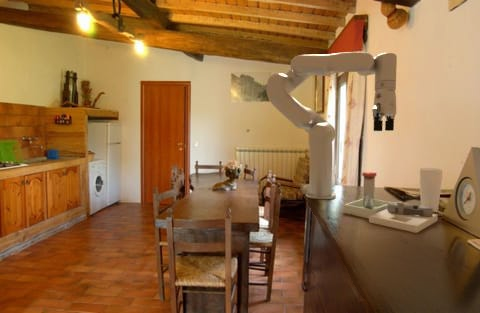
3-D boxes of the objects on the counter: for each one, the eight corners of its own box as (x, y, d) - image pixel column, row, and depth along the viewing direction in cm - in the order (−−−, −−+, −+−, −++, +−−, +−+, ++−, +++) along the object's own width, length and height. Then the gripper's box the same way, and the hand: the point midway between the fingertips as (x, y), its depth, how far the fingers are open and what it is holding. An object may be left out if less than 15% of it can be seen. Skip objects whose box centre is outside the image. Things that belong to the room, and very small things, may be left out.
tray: (343, 212, 111) (343, 204, 111) (365, 205, 122) (365, 197, 121) (372, 219, 104) (372, 210, 103) (393, 210, 114) (393, 202, 113)
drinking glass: (443, 213, 109) (445, 170, 108) (422, 213, 110) (424, 170, 109) (435, 208, 116) (437, 167, 114) (415, 208, 117) (417, 167, 115)
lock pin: (371, 211, 109) (372, 174, 108) (359, 209, 113) (359, 172, 112) (377, 209, 112) (378, 173, 111) (365, 207, 116) (366, 171, 115)
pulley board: (369, 222, 101) (369, 206, 100) (392, 212, 112) (393, 197, 111) (416, 232, 90) (417, 214, 90) (437, 220, 101) (438, 204, 101)
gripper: (384, 83, 115) (383, 131, 117) (404, 87, 126) (402, 130, 128) (364, 85, 121) (363, 131, 122) (385, 89, 132) (384, 130, 134)
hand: (383, 130), depth 125 cm, fingers open, 9 cm apart
